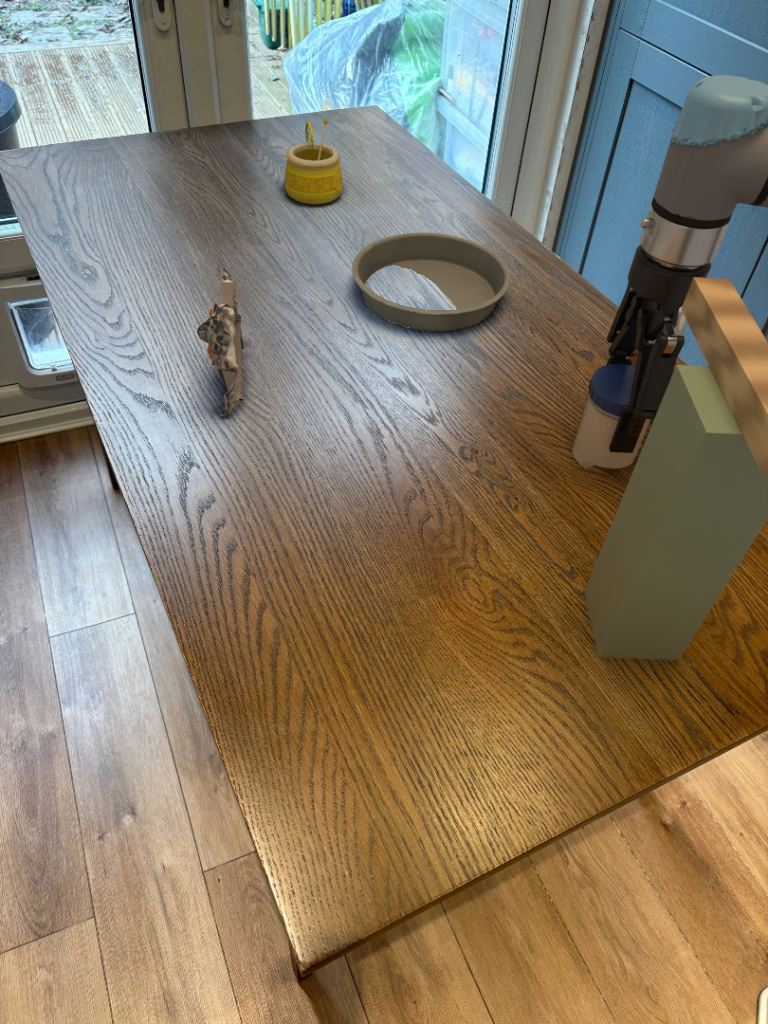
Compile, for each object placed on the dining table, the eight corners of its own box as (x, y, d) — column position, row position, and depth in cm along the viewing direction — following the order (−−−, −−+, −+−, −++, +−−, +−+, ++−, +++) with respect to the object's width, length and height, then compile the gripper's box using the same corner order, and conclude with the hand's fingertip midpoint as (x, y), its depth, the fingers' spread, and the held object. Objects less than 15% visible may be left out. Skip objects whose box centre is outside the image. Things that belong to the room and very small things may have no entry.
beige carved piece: (214, 351, 106) (202, 266, 96) (244, 351, 106) (236, 266, 97) (209, 420, 96) (196, 332, 86) (243, 419, 96) (234, 331, 87)
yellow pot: (329, 213, 137) (329, 145, 128) (275, 201, 139) (271, 133, 131) (355, 186, 146) (357, 121, 137) (304, 175, 148) (303, 110, 139)
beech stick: (680, 309, 63) (693, 276, 61) (715, 311, 63) (729, 278, 61) (761, 473, 49) (781, 439, 47) (806, 475, 49) (828, 441, 47)
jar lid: (658, 381, 91) (662, 369, 90) (661, 424, 85) (666, 412, 84) (588, 370, 92) (592, 358, 91) (587, 412, 86) (590, 399, 85)
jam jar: (646, 464, 95) (672, 402, 87) (599, 483, 92) (622, 421, 84) (605, 428, 99) (627, 366, 92) (559, 445, 96) (578, 382, 89)
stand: (580, 598, 79) (676, 364, 57) (655, 601, 80) (778, 369, 58) (594, 664, 74) (706, 432, 52) (674, 667, 74) (819, 437, 52)
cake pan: (390, 243, 131) (392, 218, 127) (525, 280, 124) (530, 255, 121) (323, 310, 115) (323, 283, 112) (473, 356, 109) (478, 329, 105)
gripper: (616, 204, 82) (568, 373, 99) (664, 307, 68) (599, 485, 85) (683, 207, 83) (624, 375, 99) (745, 311, 68) (664, 487, 85)
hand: (613, 425), depth 92 cm, fingers closed on jar lid, 8 cm apart
